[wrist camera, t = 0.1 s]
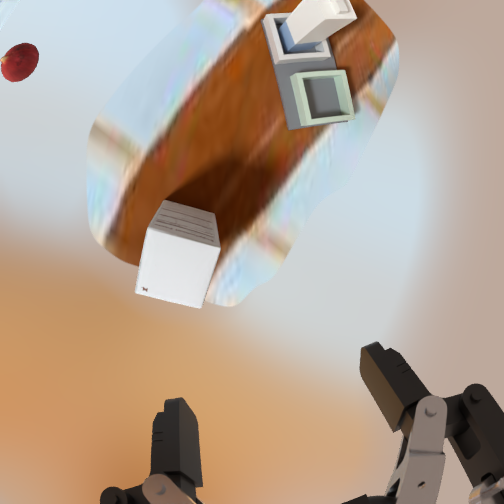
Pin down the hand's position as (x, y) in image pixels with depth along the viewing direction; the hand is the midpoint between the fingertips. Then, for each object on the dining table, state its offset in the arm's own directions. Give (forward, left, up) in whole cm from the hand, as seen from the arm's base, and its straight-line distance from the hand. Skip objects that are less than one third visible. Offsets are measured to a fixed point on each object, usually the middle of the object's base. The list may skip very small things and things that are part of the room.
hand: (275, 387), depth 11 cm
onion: (-31, -22, -29) cm, 48 cm away
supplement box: (+1, -6, -29) cm, 30 cm away
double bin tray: (-17, +15, -29) cm, 37 cm away
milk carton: (-21, +14, -29) cm, 38 cm away
